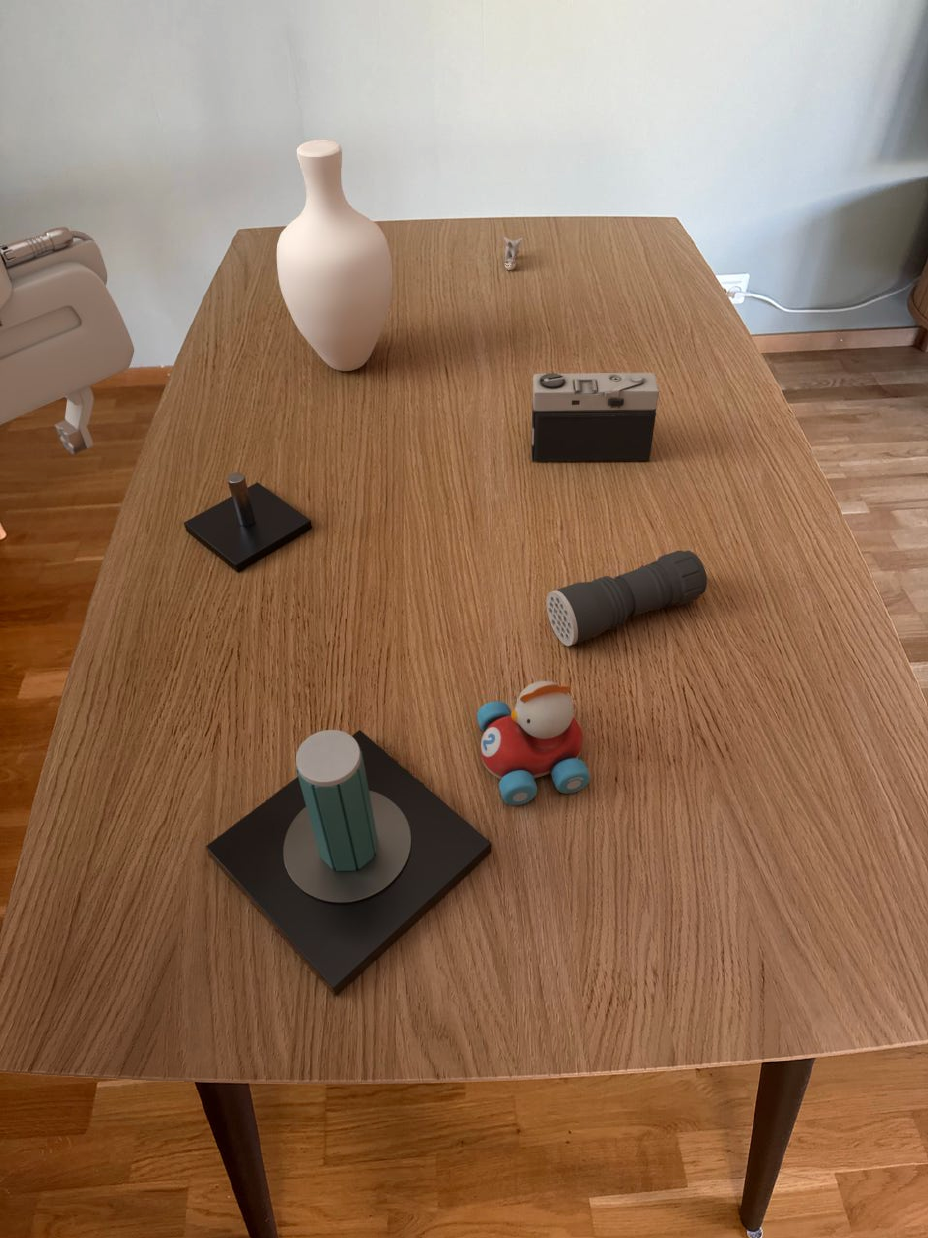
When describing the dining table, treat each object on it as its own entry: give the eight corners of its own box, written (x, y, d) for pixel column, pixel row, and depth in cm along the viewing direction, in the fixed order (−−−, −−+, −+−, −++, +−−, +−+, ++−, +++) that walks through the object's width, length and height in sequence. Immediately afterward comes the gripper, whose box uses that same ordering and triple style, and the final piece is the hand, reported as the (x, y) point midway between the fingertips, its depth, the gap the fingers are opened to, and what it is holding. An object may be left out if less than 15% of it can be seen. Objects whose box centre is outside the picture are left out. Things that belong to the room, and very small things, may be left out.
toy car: (469, 726, 81) (466, 651, 74) (563, 706, 82) (569, 630, 75) (495, 812, 75) (495, 739, 68) (597, 789, 76) (607, 715, 69)
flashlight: (676, 574, 94) (684, 534, 90) (707, 607, 91) (716, 567, 87) (545, 620, 90) (547, 580, 86) (571, 657, 87) (575, 617, 83)
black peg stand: (238, 573, 96) (223, 520, 91) (185, 530, 101) (169, 478, 96) (312, 528, 101) (302, 475, 96) (259, 490, 106) (247, 438, 101)
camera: (643, 424, 113) (652, 350, 106) (650, 463, 107) (661, 389, 100) (530, 424, 114) (532, 351, 107) (531, 464, 108) (533, 390, 101)
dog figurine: (521, 277, 147) (524, 240, 146) (518, 263, 139) (520, 225, 138) (501, 276, 147) (504, 240, 147) (497, 262, 139) (499, 224, 139)
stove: (335, 997, 65) (332, 987, 63) (209, 856, 73) (203, 844, 72) (492, 852, 72) (491, 841, 71) (361, 739, 81) (359, 727, 79)
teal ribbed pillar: (344, 882, 69) (322, 793, 60) (309, 846, 71) (282, 755, 63) (388, 845, 71) (373, 754, 62) (352, 811, 73) (332, 719, 65)
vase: (359, 403, 118) (330, 178, 98) (273, 375, 124) (229, 156, 104) (420, 353, 126) (405, 136, 106) (337, 329, 132) (308, 118, 112)
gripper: (64, 203, 57) (128, 396, 67) (-301, 323, 47) (-162, 528, 57) (115, 231, 54) (175, 430, 63) (-264, 366, 44) (-123, 576, 54)
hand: (14, 478), depth 60 cm, fingers open, 8 cm apart
